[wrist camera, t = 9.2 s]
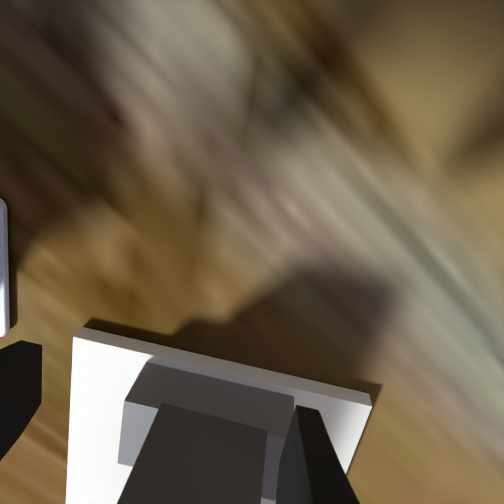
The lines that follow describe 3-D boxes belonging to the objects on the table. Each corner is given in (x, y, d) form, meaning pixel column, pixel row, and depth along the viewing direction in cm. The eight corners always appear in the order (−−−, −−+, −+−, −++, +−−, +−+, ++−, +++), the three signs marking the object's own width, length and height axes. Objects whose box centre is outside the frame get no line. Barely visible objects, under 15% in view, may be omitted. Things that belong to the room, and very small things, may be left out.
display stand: (72, 512, 29) (38, 575, 25) (82, 326, 23) (40, 372, 19) (302, 568, 28) (302, 641, 24) (369, 393, 23) (382, 453, 19)
